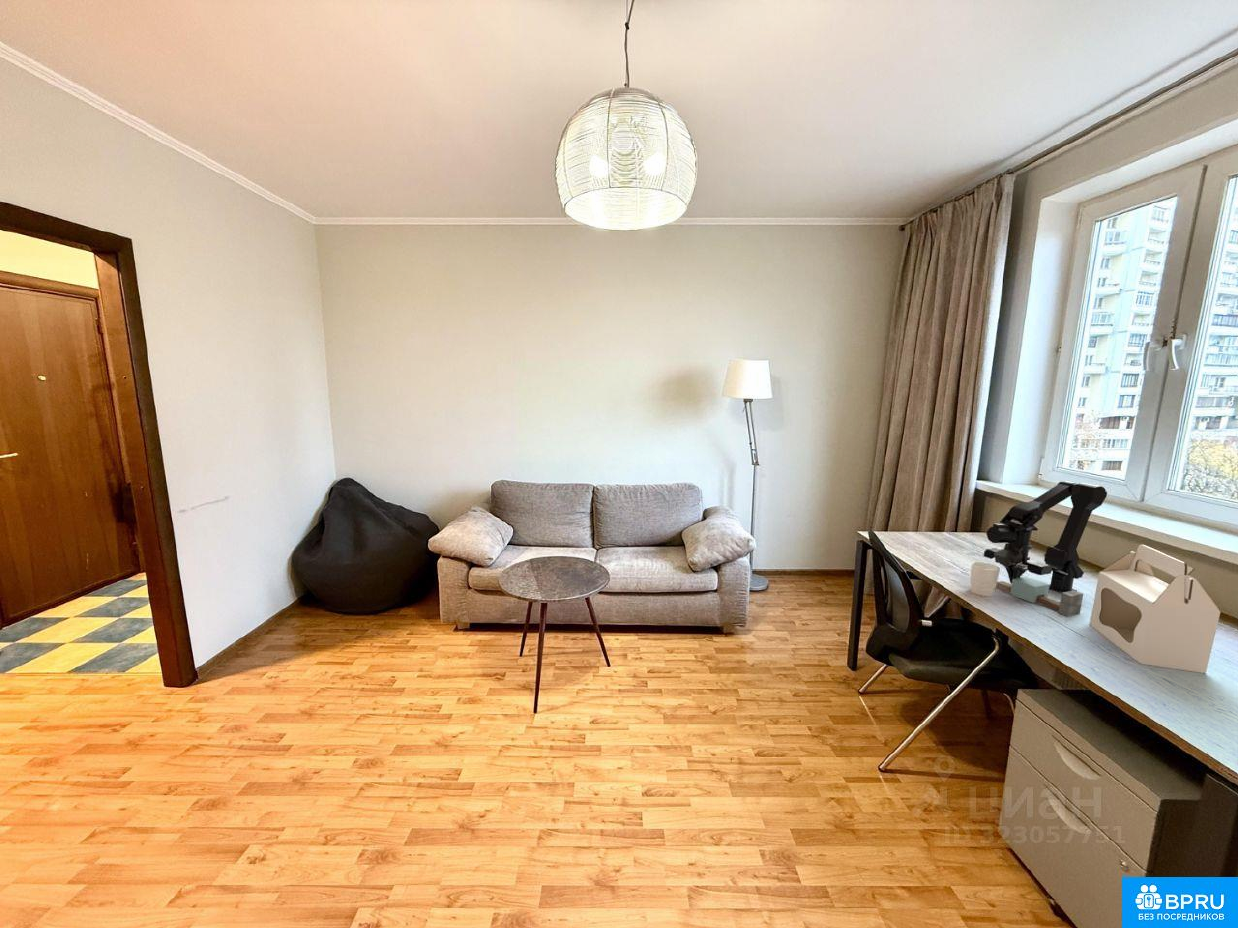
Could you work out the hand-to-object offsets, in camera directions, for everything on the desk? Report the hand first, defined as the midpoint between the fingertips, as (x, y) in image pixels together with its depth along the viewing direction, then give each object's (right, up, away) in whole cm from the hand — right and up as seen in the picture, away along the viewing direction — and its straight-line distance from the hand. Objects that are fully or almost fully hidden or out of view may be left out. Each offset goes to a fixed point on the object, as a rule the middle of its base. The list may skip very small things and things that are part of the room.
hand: (1012, 583), depth 167 cm
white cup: (-11, -3, 0) cm, 12 cm away
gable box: (+7, -9, -35) cm, 37 cm away
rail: (+2, -4, -6) cm, 8 cm away
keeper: (+2, -4, -5) cm, 6 cm away
